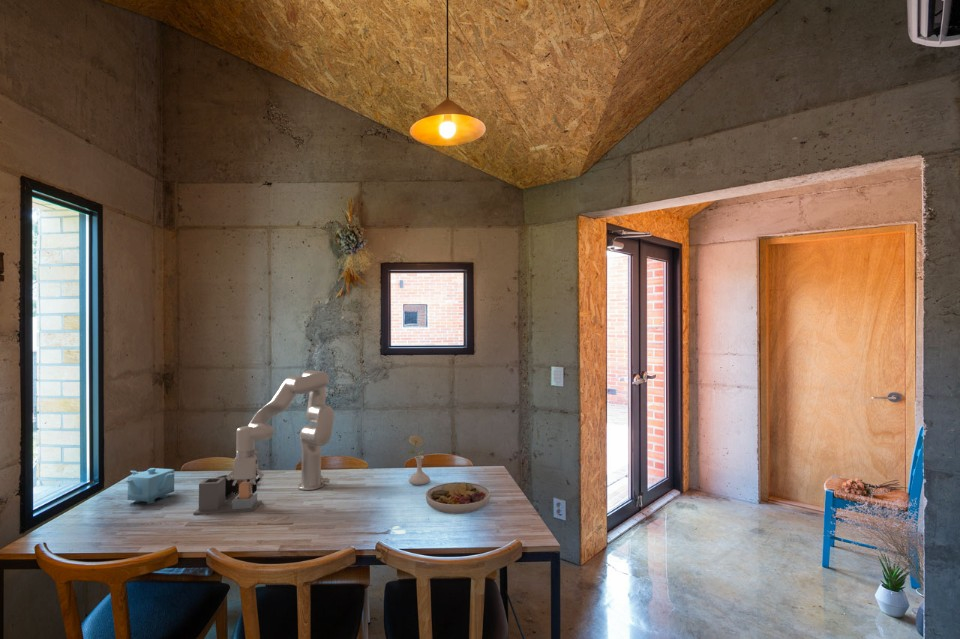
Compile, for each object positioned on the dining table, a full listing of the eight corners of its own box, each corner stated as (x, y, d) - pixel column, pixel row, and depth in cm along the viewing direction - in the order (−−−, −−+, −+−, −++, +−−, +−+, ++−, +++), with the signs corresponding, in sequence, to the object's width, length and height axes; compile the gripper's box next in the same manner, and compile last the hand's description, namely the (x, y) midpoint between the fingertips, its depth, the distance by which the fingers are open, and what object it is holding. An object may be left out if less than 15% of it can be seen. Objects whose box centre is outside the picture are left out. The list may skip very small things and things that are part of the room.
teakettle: (174, 490, 233) (174, 461, 233) (174, 501, 217) (174, 470, 218) (127, 498, 222) (127, 467, 223) (123, 510, 207) (124, 477, 207)
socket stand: (261, 502, 216) (261, 474, 216) (253, 511, 205) (253, 482, 205) (204, 505, 212) (204, 477, 212) (193, 515, 201) (193, 485, 201)
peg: (251, 503, 212) (251, 481, 212) (248, 506, 208) (248, 484, 208) (242, 503, 211) (242, 482, 211) (238, 507, 207) (239, 485, 207)
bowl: (412, 504, 213) (412, 487, 213) (458, 487, 235) (458, 472, 235) (457, 522, 192) (457, 503, 192) (503, 502, 214) (503, 485, 214)
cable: (257, 488, 247) (266, 471, 248) (213, 506, 214) (224, 486, 214) (243, 479, 249) (252, 462, 249) (197, 494, 215) (207, 475, 216)
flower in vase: (434, 482, 243) (434, 434, 243) (420, 488, 233) (420, 439, 234) (415, 478, 250) (415, 432, 250) (401, 484, 240) (401, 436, 241)
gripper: (267, 450, 215) (267, 489, 214) (228, 452, 212) (228, 491, 212) (262, 455, 207) (262, 494, 207) (221, 457, 205) (221, 497, 204)
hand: (245, 492), depth 209 cm, fingers open, 7 cm apart
